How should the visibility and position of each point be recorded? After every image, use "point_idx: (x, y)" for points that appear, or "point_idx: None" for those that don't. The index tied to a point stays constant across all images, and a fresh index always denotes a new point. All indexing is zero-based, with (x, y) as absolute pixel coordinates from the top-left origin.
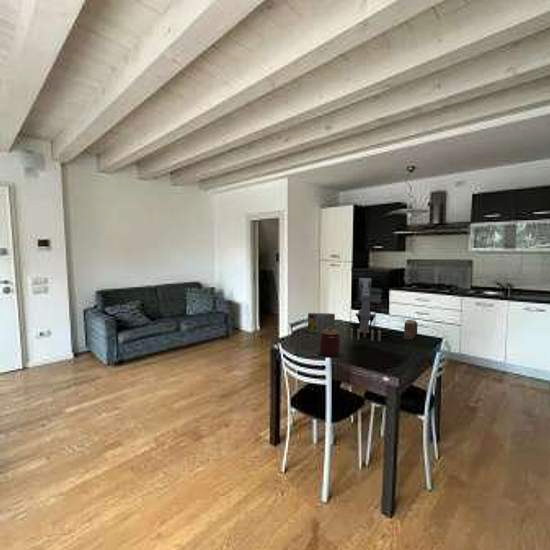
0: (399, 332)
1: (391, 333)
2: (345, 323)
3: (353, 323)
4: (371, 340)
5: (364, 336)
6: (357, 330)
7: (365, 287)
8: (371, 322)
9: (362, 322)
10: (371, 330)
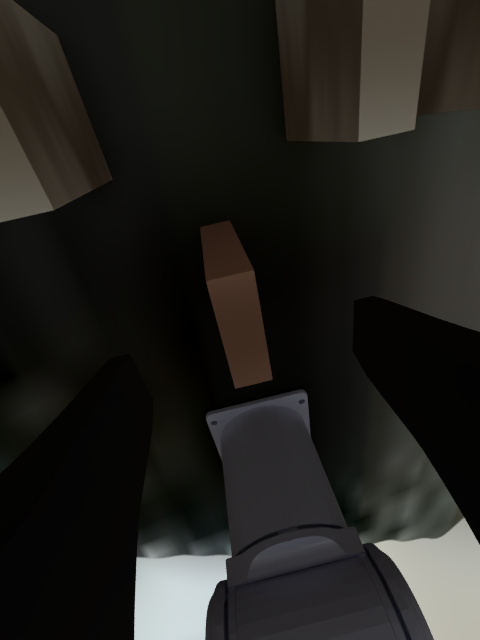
0: None
1: None
2: (399, 516)
3: None
4: (50, 34)
5: (221, 225)
6: (413, 5)
7: None
8: (36, 445)
9: (310, 508)
10: None
